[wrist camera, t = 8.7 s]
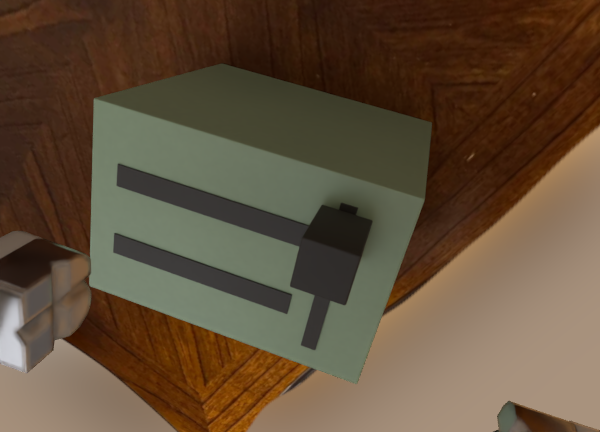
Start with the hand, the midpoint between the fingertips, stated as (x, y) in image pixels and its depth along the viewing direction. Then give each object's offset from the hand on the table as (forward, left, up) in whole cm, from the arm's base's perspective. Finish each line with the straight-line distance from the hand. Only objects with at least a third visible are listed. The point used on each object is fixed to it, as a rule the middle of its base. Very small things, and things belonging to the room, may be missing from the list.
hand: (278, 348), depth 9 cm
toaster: (+5, +7, -28) cm, 29 cm away
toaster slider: (0, +4, -13) cm, 13 cm away
